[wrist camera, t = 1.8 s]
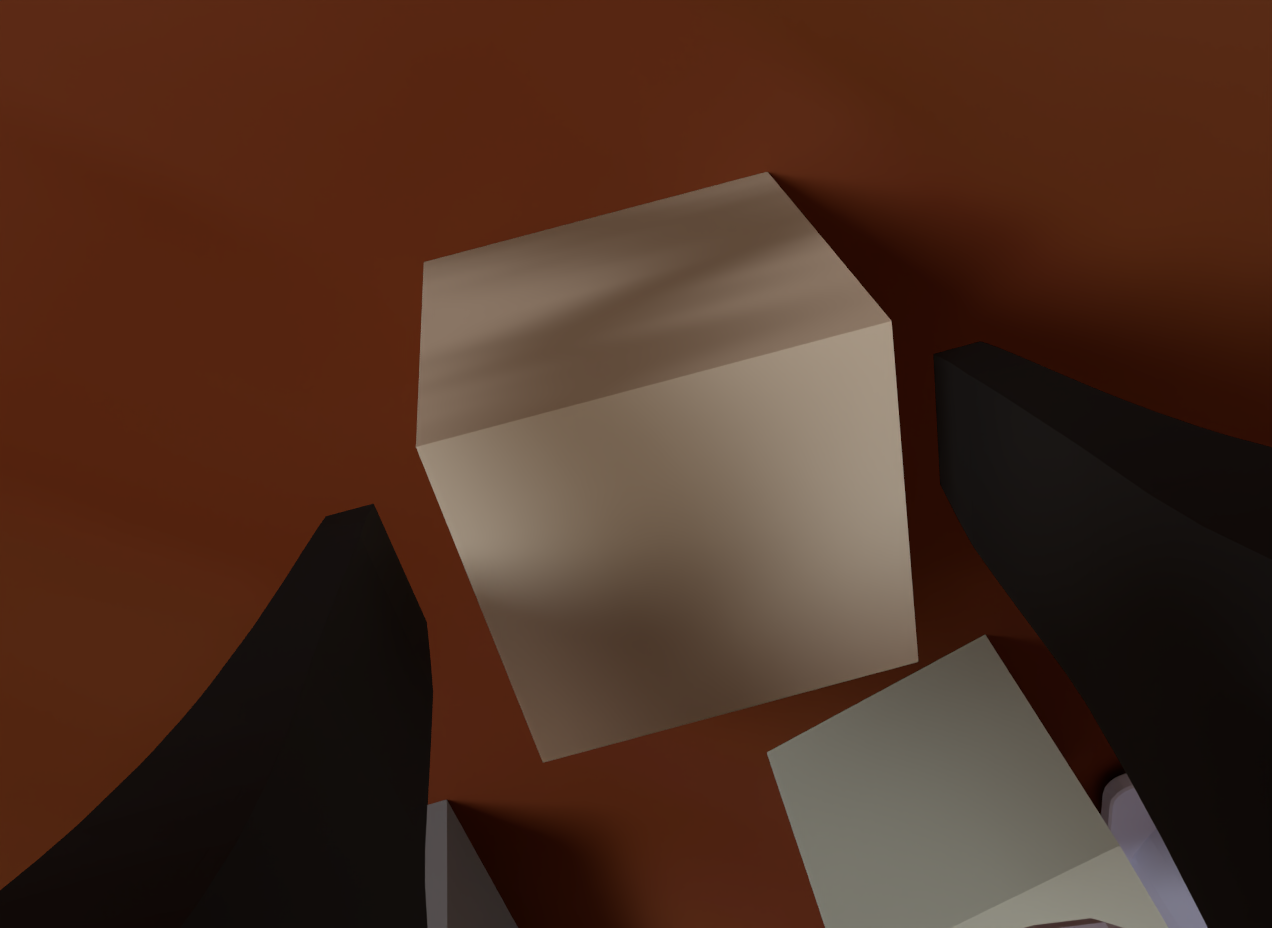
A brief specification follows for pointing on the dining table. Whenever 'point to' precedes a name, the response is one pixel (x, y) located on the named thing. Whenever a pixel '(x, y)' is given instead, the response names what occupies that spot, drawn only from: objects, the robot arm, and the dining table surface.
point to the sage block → (951, 811)
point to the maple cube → (669, 462)
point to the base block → (458, 877)
